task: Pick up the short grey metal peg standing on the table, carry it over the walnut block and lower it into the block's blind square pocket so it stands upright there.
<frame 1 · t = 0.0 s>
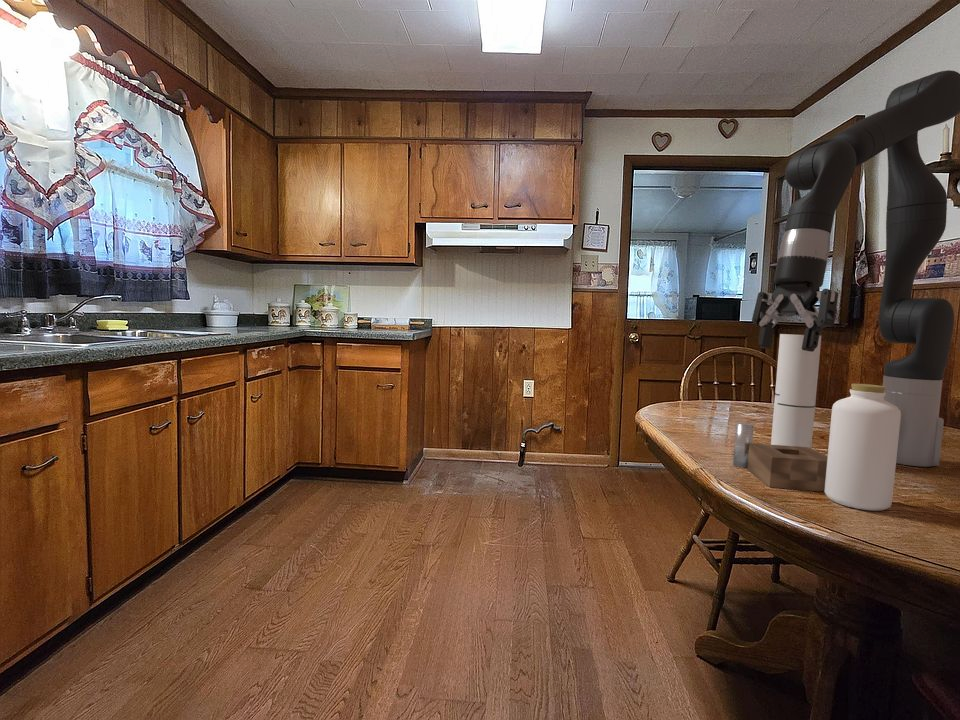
hand: (785, 349, 92), 22 cm above the table, tool pointing down, fingers open, 8 cm apart
peg: (741, 465, 98), on the table
cylindrical container: (789, 457, 107), on the table
walnut block: (788, 480, 89), on the table
potion bottle: (856, 504, 79), on the table
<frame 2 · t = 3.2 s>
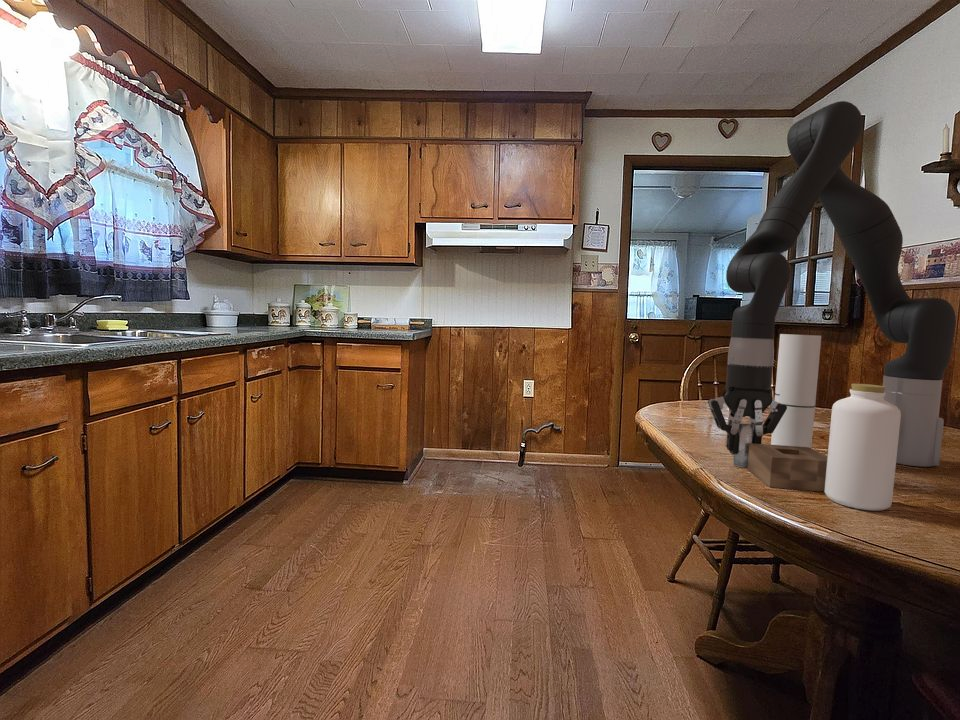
hand: (742, 453, 98), 2 cm above the table, tool pointing down, fingers closed on peg, 3 cm apart
peg: (741, 465, 98), on the table, touching gripper
everything else where it was.
when the fingers open (6 cm above the table, at t = 6.3 s): peg drops 2 cm, resting on walnut block.
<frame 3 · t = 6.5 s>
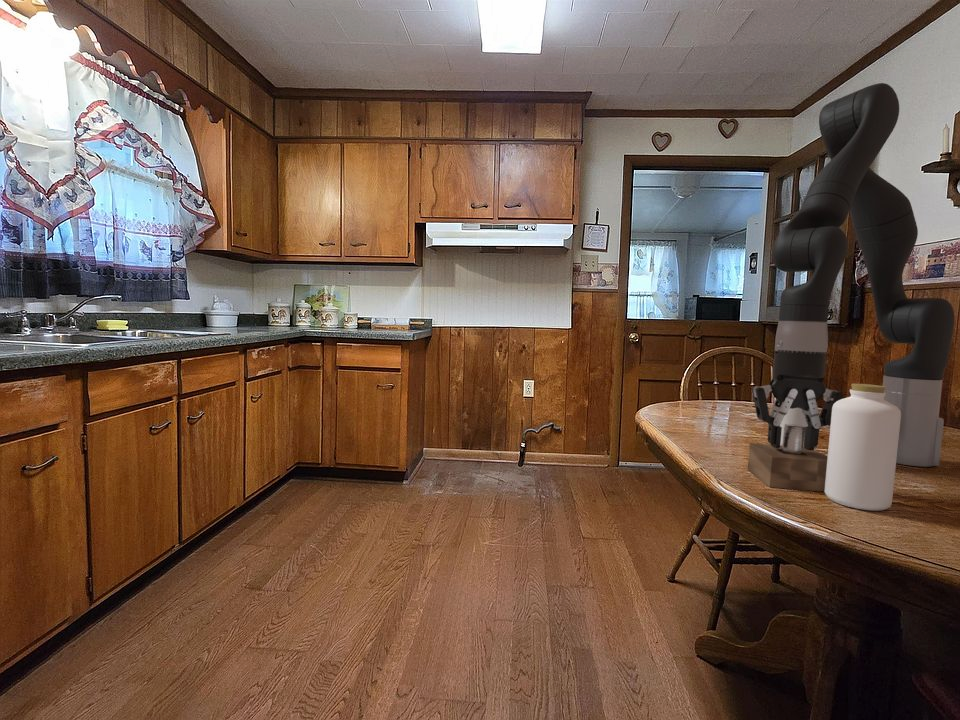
hand: (791, 447, 89), 6 cm above the table, tool pointing down, fingers open, 4 cm apart
peg: (789, 471, 89), point 2 cm above the table, touching walnut block
everything else where it was.
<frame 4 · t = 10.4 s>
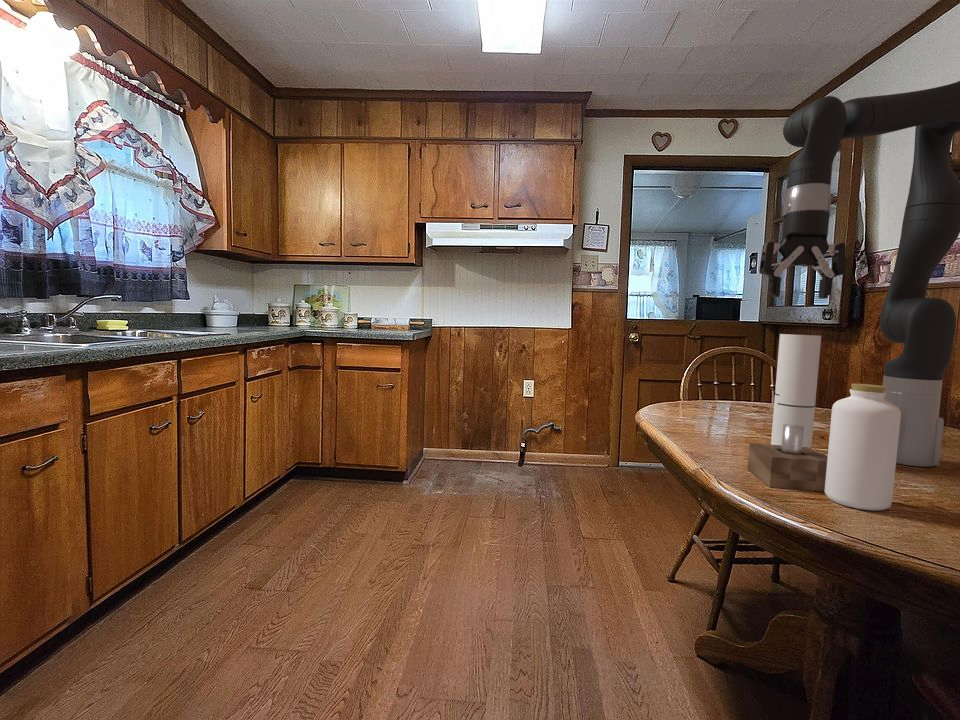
hand: (798, 297, 100), 32 cm above the table, tool pointing down, fingers open, 8 cm apart
nothing on the table moved.
at the end: peg 0.0 cm off-centre on the walnut block, point 1.5 cm above the walnut block's base; peg tilted 0°; the gripper is holding nothing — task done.
